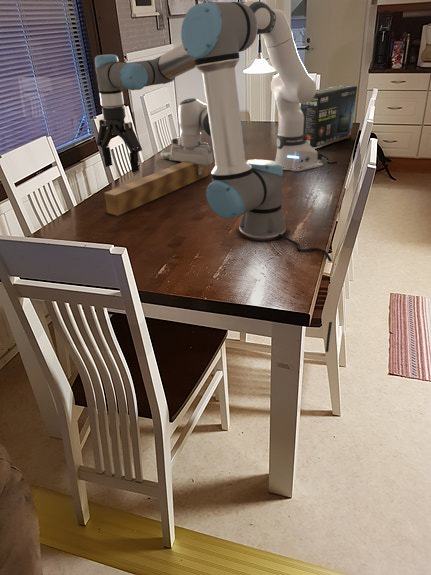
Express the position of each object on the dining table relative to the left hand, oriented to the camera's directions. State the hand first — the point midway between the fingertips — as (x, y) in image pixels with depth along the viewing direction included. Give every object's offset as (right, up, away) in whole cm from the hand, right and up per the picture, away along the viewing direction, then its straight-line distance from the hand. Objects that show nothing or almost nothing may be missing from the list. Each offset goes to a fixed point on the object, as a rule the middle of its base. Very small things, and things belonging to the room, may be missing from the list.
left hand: (121, 168), depth 165 cm
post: (+12, -4, +21) cm, 25 cm away
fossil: (+15, +22, +64) cm, 70 cm away
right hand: (+24, +7, +34) cm, 42 cm away
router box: (+92, +34, +79) cm, 126 cm away
